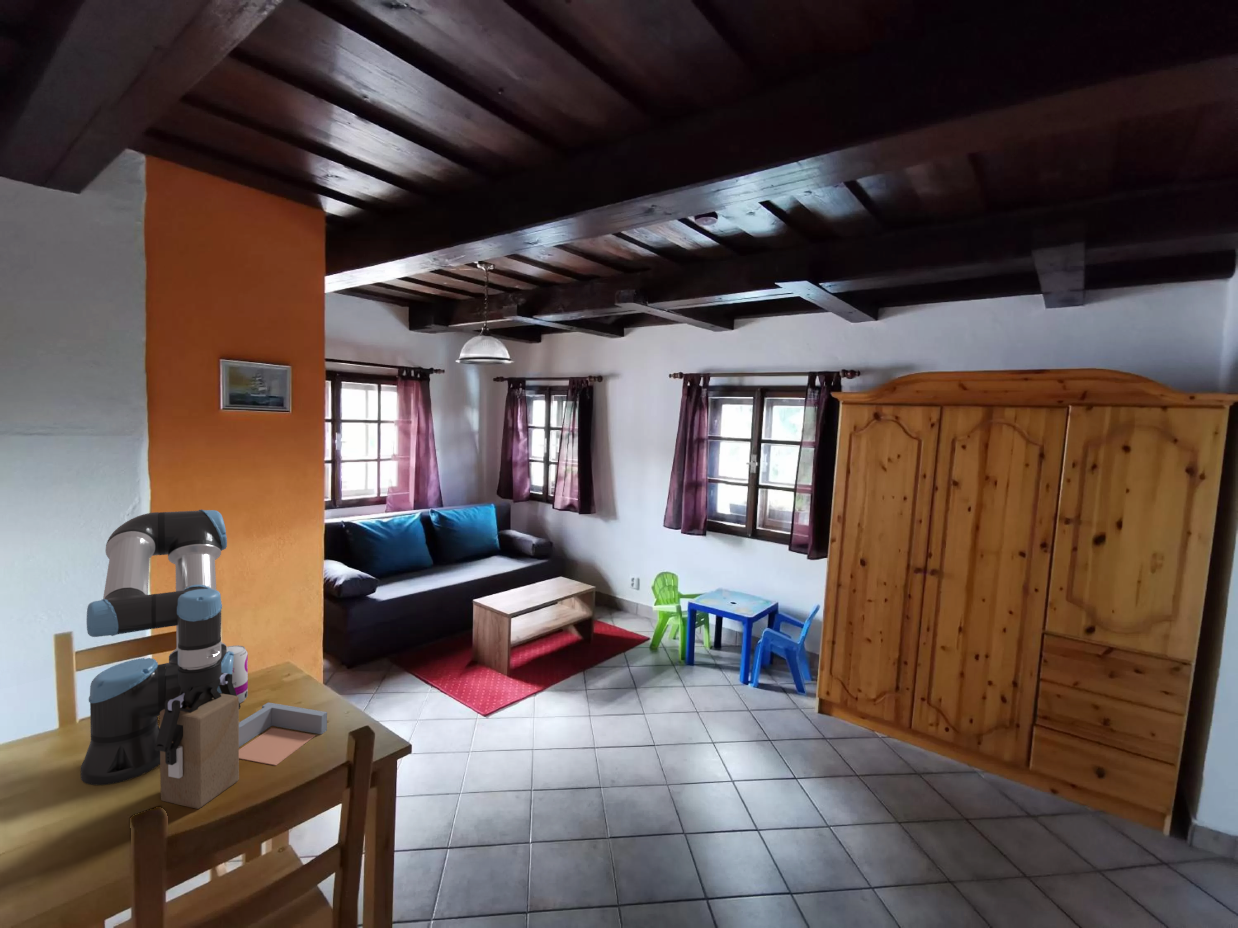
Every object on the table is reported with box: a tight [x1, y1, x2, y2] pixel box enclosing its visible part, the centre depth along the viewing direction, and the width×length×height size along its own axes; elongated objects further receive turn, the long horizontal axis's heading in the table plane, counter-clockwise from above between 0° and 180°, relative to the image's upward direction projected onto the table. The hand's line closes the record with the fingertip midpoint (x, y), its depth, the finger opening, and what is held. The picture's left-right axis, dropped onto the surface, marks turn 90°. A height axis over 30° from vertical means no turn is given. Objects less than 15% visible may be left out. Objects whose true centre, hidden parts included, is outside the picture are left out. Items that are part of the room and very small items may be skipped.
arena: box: [239, 701, 328, 766], centre depth 141 cm, size 18×18×5 cm
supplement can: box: [226, 645, 249, 704], centre depth 159 cm, size 8×8×15 cm
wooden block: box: [159, 693, 240, 809], centre depth 122 cm, size 10×10×20 cm
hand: (200, 760), depth 122 cm, fingers open, 11 cm apart
